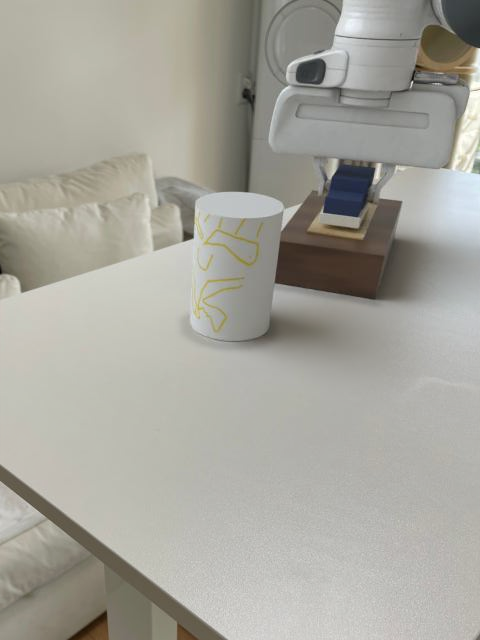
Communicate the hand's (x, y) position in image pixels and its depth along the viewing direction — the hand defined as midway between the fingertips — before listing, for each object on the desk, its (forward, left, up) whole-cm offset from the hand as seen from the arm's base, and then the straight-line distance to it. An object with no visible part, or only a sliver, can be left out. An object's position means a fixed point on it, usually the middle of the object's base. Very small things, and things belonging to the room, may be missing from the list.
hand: (347, 198), depth 78 cm
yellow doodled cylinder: (+15, +19, -8) cm, 25 cm away
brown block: (0, 0, -7) cm, 7 cm away
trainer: (0, 0, -2) cm, 2 cm away
